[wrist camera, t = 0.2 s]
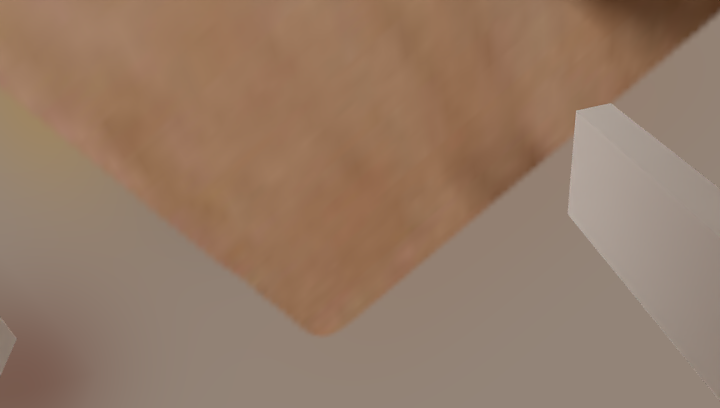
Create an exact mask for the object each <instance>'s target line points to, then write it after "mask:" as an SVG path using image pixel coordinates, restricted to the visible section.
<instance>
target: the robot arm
mask: <svg viewBox="0 0 720 408" xmlns="http://www.w3.org/2000/svg"><path fill="white" fill-rule="evenodd" d="M568 215H569V216H570V218H571V219H572V220H573V221H574V222H575V223H576V225H577V226H578V227H579V229H580V230H581V231H582V232H583V234H584V235H585V236H586V237H587V238H588V240H589V241H590V242H591V243H592V245H593V246H594V247H595V248H596V250H597V251H598V252H599V253H600V254H601V256H602V257H603V258H604V259H605V261H606V262H607V263H608V264H609V266H610V267H611V268H612V269H613V270H614V272H615V273H616V274H617V275H618V277H619V278H620V279H621V280H622V281H623V283H624V284H625V285H626V286H627V288H628V289H629V290H630V291H631V292H632V294H633V295H634V296H635V297H636V299H637V300H638V301H639V302H640V304H641V305H642V306H643V307H644V309H645V310H646V311H647V312H648V313H649V315H650V316H651V317H652V318H653V320H654V321H655V322H656V323H657V324H658V326H659V327H660V328H661V329H662V331H663V332H664V333H665V334H666V336H667V337H668V338H669V339H670V340H671V342H672V343H673V344H674V345H675V347H676V348H677V349H678V350H679V352H680V353H681V354H682V355H683V356H684V358H685V359H686V360H687V361H688V362H689V364H690V365H691V366H692V368H693V369H694V370H695V371H696V372H697V374H698V375H699V376H700V377H701V379H702V380H703V381H704V382H705V384H706V385H707V386H708V387H709V388H710V390H711V391H712V392H713V393H714V394H715V396H716V397H717V398H718V400H719V401H720V188H719V187H718V186H716V185H715V184H714V183H712V182H711V181H710V180H709V179H707V178H706V177H705V176H704V175H702V174H701V173H700V172H698V171H697V170H696V169H694V168H693V167H692V166H691V165H689V164H688V163H687V162H686V161H684V160H683V159H682V158H680V157H679V156H678V155H677V154H675V153H674V152H673V151H671V150H670V149H669V148H668V147H666V146H665V145H664V144H662V143H661V142H660V141H659V140H657V139H656V138H655V137H654V136H652V135H651V134H650V133H648V132H647V131H646V130H645V129H643V128H642V127H641V126H639V125H638V124H637V123H635V122H634V121H633V120H632V119H630V118H629V117H628V116H626V115H625V114H624V113H623V112H621V111H620V110H619V109H617V108H616V107H615V106H614V105H612V104H611V103H609V104H605V105H600V106H596V107H591V108H586V109H582V110H577V111H576V119H575V131H574V143H573V156H572V168H571V180H570V192H569V204H568ZM16 339H17V338H16V337H15V336H14V334H13V333H12V332H11V330H10V329H9V328H8V326H7V325H6V324H5V322H4V321H3V320H2V318H1V317H0V376H1V373H2V371H3V369H4V366H5V364H6V362H7V360H8V357H9V355H10V353H11V351H12V349H13V346H14V344H15V342H16Z"/></svg>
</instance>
